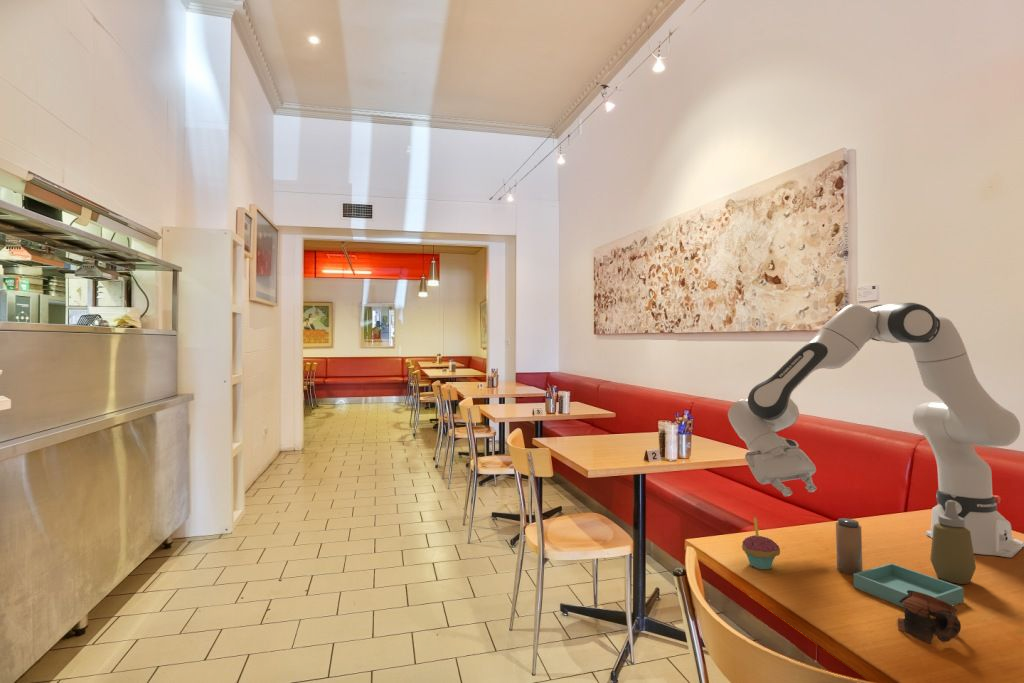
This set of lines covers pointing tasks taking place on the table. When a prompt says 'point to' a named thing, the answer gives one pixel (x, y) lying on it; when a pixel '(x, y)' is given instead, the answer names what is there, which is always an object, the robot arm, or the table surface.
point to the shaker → (848, 546)
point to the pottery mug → (928, 618)
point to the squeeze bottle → (952, 548)
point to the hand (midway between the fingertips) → (801, 493)
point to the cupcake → (760, 550)
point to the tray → (905, 584)
